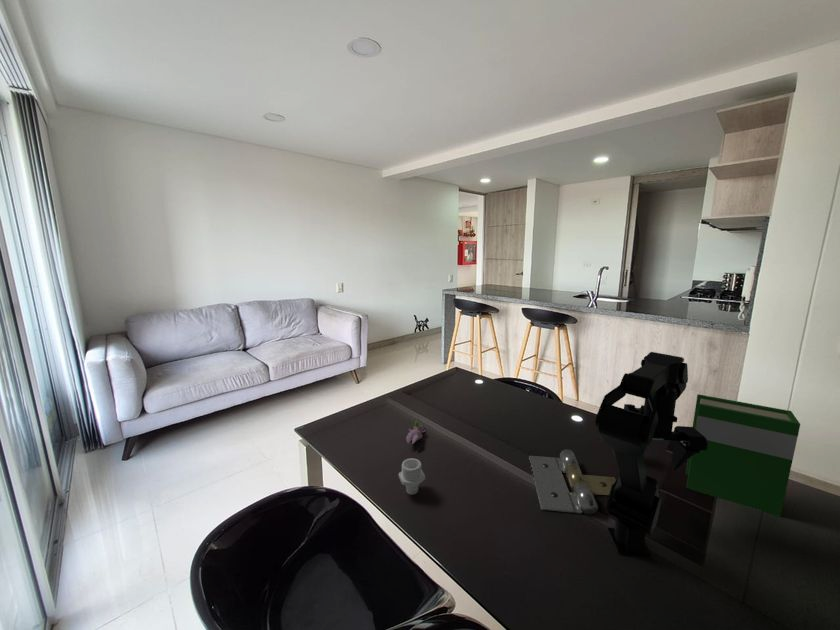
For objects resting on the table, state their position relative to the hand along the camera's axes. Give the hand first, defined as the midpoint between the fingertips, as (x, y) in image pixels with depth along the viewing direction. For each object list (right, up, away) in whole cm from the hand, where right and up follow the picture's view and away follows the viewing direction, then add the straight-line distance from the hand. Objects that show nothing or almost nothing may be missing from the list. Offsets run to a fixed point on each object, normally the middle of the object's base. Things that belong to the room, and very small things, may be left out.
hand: (651, 468), depth 81 cm
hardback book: (+26, -10, +8) cm, 29 cm away
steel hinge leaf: (-17, -10, +13) cm, 23 cm away
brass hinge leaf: (-8, -10, +12) cm, 17 cm away
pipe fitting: (-57, -11, +12) cm, 59 cm away
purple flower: (-56, -6, +37) cm, 67 cm away
